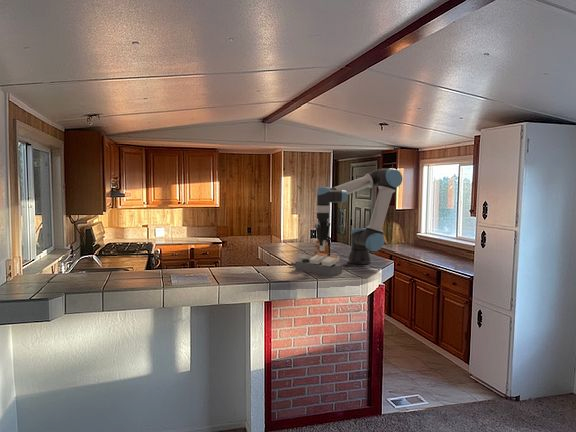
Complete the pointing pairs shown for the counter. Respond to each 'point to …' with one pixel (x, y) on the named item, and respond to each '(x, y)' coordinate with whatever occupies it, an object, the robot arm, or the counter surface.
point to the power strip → (317, 267)
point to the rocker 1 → (305, 256)
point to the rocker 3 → (330, 260)
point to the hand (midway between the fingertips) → (322, 250)
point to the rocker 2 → (318, 258)
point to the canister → (327, 247)
